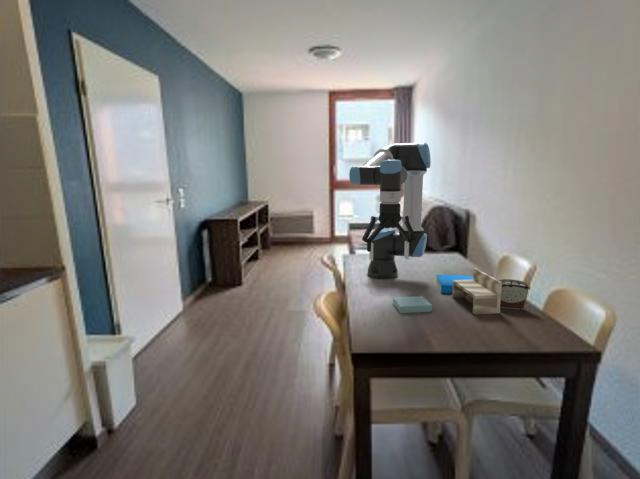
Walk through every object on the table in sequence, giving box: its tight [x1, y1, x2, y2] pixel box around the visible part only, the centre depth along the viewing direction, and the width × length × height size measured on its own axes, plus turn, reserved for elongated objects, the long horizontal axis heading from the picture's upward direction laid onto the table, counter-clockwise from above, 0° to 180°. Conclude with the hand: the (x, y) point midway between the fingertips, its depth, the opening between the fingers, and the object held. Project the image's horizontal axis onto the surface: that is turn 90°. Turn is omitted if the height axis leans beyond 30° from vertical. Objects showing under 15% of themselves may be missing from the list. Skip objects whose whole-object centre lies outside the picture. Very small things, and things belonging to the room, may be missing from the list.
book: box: [436, 274, 473, 294], centre depth 171 cm, size 17×4×25 cm
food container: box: [498, 278, 531, 311], centre depth 149 cm, size 12×6×10 cm, turn 71°
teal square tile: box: [392, 295, 433, 314], centre depth 149 cm, size 10×12×3 cm
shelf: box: [451, 267, 502, 315], centre depth 150 cm, size 20×10×12 cm, turn 5°
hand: (388, 259), depth 144 cm, fingers open, 13 cm apart
